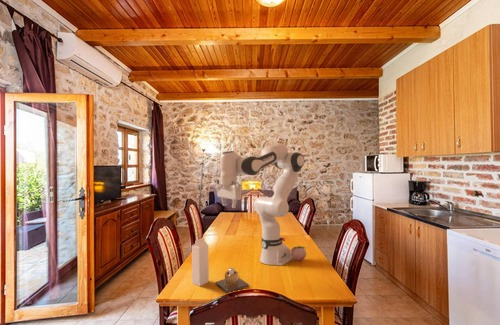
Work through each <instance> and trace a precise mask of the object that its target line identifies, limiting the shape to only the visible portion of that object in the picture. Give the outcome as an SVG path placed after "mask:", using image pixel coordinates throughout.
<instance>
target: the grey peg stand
mask: <svg viewBox="0 0 500 325" xmlns="http://www.w3.org/2000/svg"><path fill="white" fill-rule="evenodd" d="M234 270H235V268H234V267H229V269H228V271H229V275H234ZM214 284H215V285H216V286H217V287H219V289H221V290H222V291H223V292H225V293H226V294H227V293H228V294H230V293H229V292H231V293H233V292H232V291H234V292H236V291H238V290H242V289H245V288H247V287H249V286H250V285H249V283H248V282H246V281H245V280H243V279H242V278H240V277H239V276H238V284H237V285H235V286H227V285H226V284H225V278H224V279H220V280H217V281H215V283H214ZM244 287H245V288H244Z"/></svg>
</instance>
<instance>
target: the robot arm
mask: <svg viewBox="0 0 500 325" xmlns="http://www.w3.org/2000/svg"><path fill="white" fill-rule="evenodd" d="M271 164H273V165H274V167H275V168H276V169H279V170H283V172H282V173H281V174H280V176H279V177H278V179H277V180H276V182H275V183H274V185H273V186H272V191H273V195H272V196H271V197H270V196H259V197H257V198H256V199H255V200H254V202H253V209H254V210H255V212H256V213H257V214H258V215H257V216H259V220H260V223H261V236H262V237H261V253H260V258H259V262H260V263H262V264H264V265H267V266H283V265H285V264H287V263H289V262H291V261H293V260H294V259H293V258H292V255H291V248H290V247H289V246H287V245H286V244H285V243H283V242H285V241H286V238H285V237H283V236H282V237H281V226H280V223H279V222H278V221H277V220H276V218H281V217H282V218H283V217H286V216H287V214H288V213H289V211H290V207H289V203H288V197H289V196H290V193H291V191H292V190H293V188H294V187H295V185H296V183H297V180H298V178H299V174H298V172H300V171H301V169H302V168H303V166H304V165H305V157H304V154H302V153H300V152H289V149H288V147H287V146H286V145H285V144H283V143H275V144H270V145H268V146H265V148H262V150H261V152H260V156H245V157H244V156H243V157H242V156H241V155H238V154H237V153H236V152H235V151H234V150H231V151H224V152H222V153H221V155H220V159H219V168H220V177H219V178H218V179H216V181H215V183H216V195H217V197H218V198H220V199H221V203H222V206H223V207H224V206H225V207H226V206H227V205H228V202H226V201H227V200H226V199H229V200H231V202H232V204H231V208H232V209H236V208H237V203H238V201H240V200H241V199H242V188H241V186H240V183H239V182H238V181H237V180H238V177H237V176H238V175H247V176H255V175H257V174H259V172H260V171H261V170H262V169H263V168H265V167H267V166H270V165H271Z"/></svg>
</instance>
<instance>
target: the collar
mask: <svg viewBox="0 0 500 325" xmlns="http://www.w3.org/2000/svg"><path fill="white" fill-rule="evenodd" d="M238 277H239V272H238V271H237V270H235V269H234V275H229V270H227V271H225V273H224V279H225V284H226V285H227V286H235V285H237V284H238Z"/></svg>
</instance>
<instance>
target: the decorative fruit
mask: <svg viewBox="0 0 500 325" xmlns="http://www.w3.org/2000/svg"><path fill="white" fill-rule="evenodd" d="M290 251H291V255H292V258H293V260H294V261H296V262H298V263H300V262H302V261H303V260H304V259H305V258H306V256H307V251H306V247H305V246H302V245H301V246H300V245H297V246H294V247H292V248H290Z"/></svg>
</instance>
